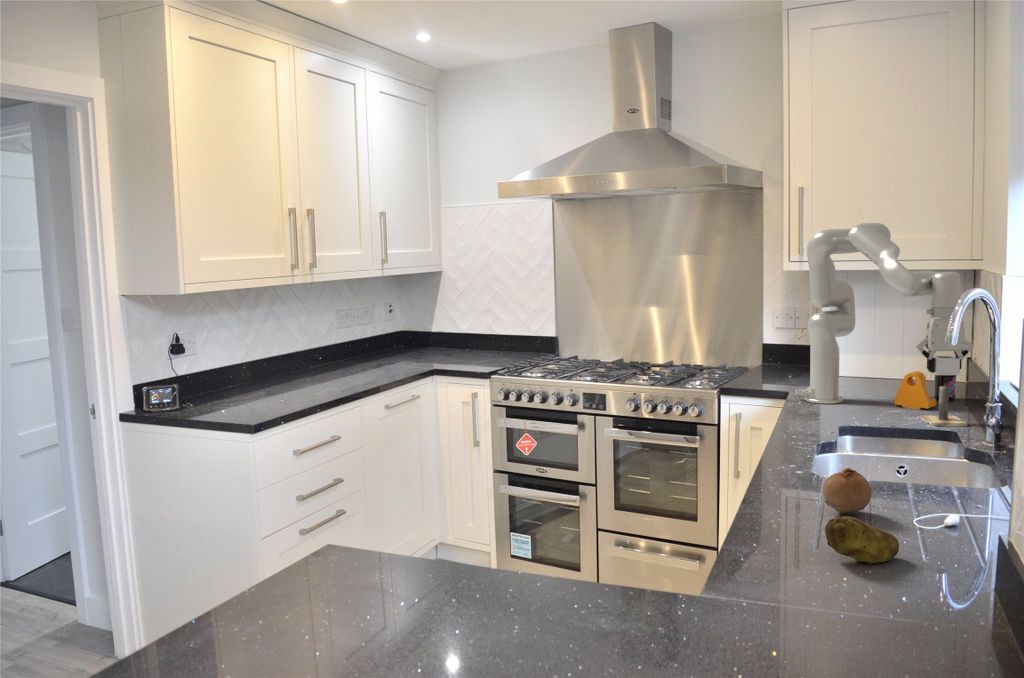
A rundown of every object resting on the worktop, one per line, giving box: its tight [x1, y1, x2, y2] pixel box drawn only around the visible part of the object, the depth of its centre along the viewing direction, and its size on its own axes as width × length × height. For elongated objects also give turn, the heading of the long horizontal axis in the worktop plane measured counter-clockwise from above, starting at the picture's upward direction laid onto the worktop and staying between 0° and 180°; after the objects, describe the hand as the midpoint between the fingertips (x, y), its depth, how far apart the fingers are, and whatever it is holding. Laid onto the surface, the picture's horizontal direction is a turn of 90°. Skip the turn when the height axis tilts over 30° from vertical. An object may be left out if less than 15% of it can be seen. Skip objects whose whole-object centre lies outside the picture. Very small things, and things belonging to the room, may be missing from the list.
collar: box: [929, 355, 961, 376], centre depth 241 cm, size 6×6×5 cm
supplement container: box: [933, 375, 958, 402], centre depth 274 cm, size 7×7×10 cm
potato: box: [824, 515, 900, 564], centre depth 143 cm, size 8×13×8 cm, turn 75°
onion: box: [822, 467, 873, 514], centre depth 167 cm, size 10×9×10 cm
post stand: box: [919, 386, 968, 427], centre depth 242 cm, size 10×10×11 cm
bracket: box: [893, 370, 937, 410], centre depth 265 cm, size 11×7×12 cm, turn 42°
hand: (943, 371), depth 241 cm, fingers closed on collar, 6 cm apart
